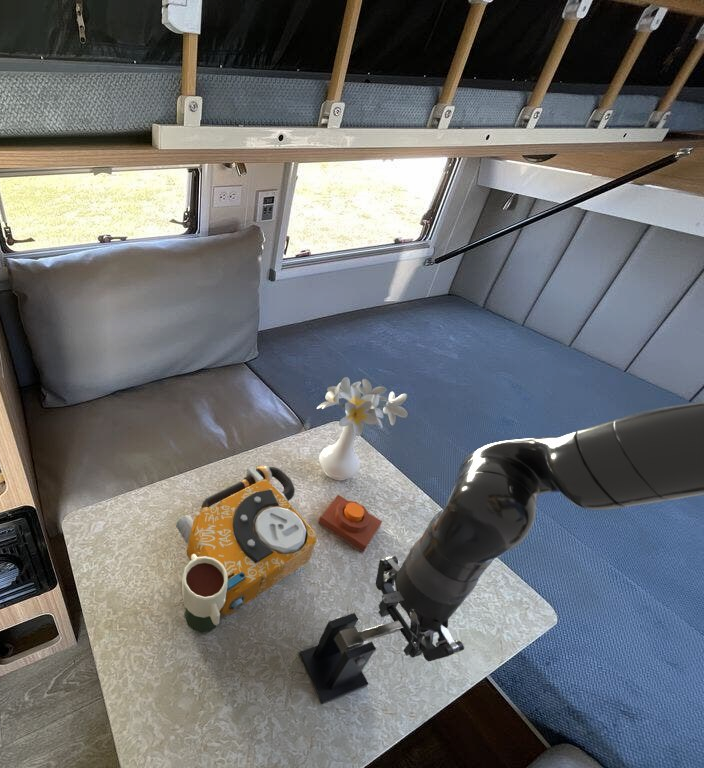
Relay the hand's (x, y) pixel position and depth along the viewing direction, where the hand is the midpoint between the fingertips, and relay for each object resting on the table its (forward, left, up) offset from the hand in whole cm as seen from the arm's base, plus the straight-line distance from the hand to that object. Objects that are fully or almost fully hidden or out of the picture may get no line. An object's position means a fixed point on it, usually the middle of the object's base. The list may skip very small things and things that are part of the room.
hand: (396, 631), depth 62 cm
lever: (+3, +5, +2) cm, 6 cm away
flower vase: (+24, -31, -7) cm, 40 cm away
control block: (+15, -18, -7) cm, 25 cm away
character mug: (+25, +17, -7) cm, 31 cm away
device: (+29, -1, -7) cm, 29 cm away
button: (+15, -18, -3) cm, 24 cm away
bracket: (+5, +9, -7) cm, 12 cm away
